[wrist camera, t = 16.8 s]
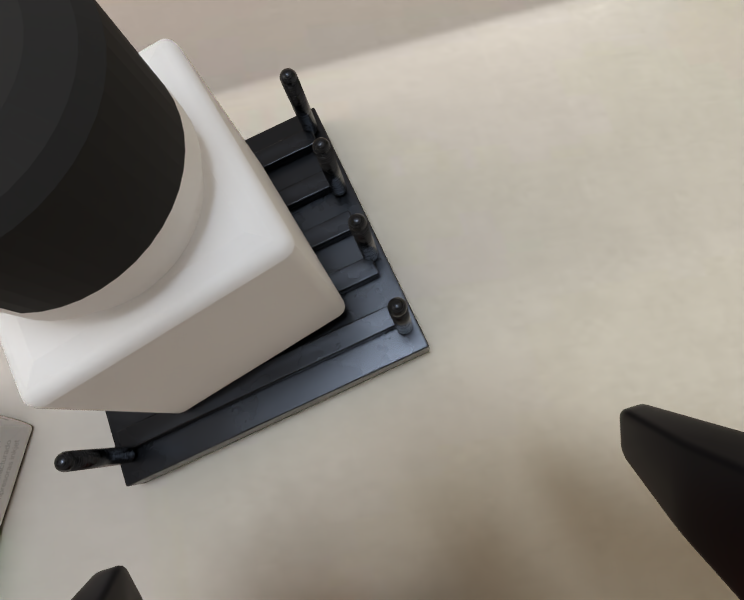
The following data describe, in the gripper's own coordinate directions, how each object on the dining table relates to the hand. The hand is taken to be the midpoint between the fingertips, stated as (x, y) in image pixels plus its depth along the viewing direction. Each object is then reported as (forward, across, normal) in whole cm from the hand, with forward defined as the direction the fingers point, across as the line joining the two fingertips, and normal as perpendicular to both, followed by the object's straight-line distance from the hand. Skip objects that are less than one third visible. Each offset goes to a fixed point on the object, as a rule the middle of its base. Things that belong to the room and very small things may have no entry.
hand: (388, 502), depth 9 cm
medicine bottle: (+12, +4, -1) cm, 13 cm away
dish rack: (+13, +3, -1) cm, 14 cm away
